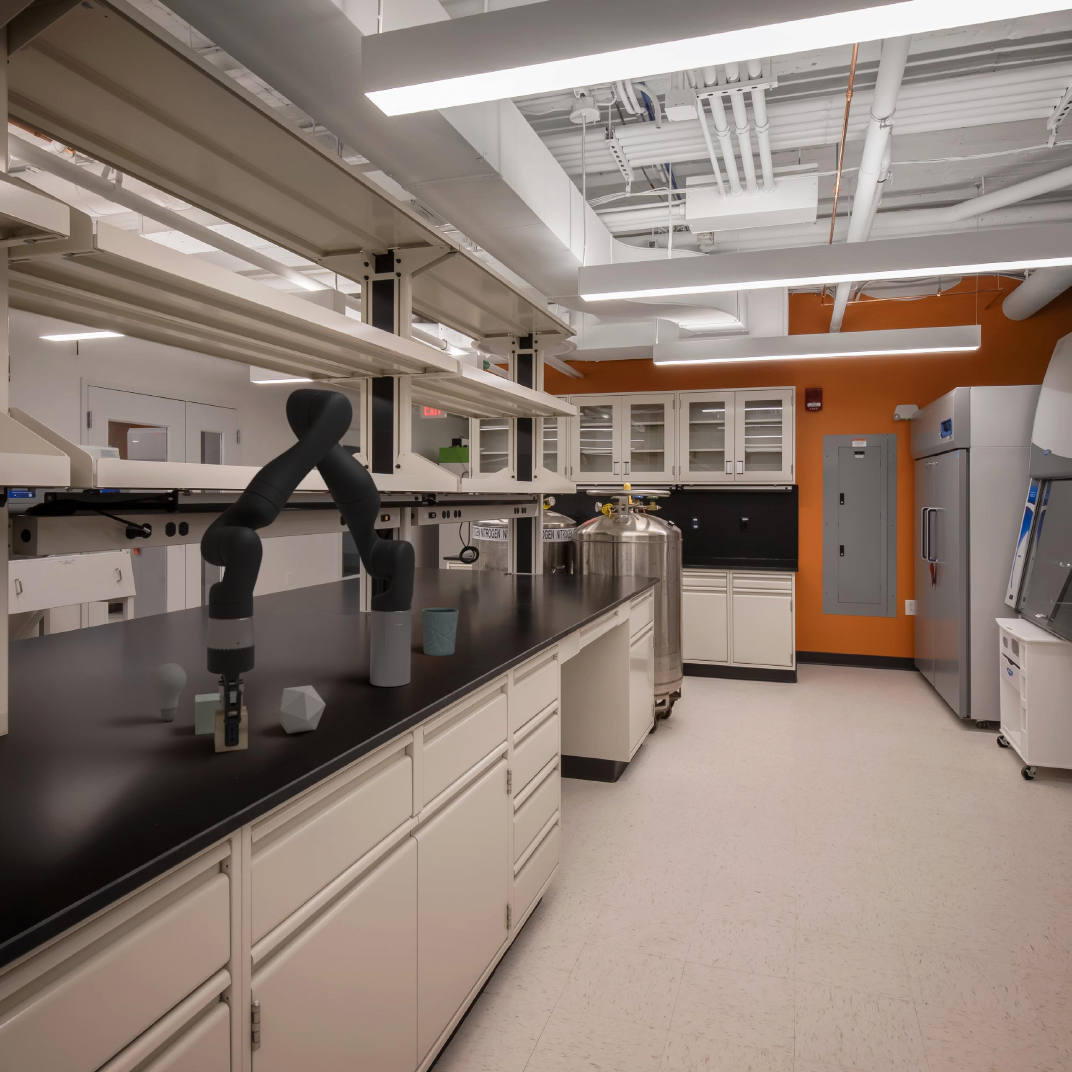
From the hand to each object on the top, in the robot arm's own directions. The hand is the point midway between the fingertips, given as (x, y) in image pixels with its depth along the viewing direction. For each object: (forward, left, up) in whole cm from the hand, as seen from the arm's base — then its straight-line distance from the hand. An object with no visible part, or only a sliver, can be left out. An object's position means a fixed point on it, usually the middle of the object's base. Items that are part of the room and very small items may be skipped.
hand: (230, 740), depth 127 cm
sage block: (-11, -3, -1) cm, 11 cm away
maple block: (0, 0, -1) cm, 1 cm away
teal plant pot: (-61, +57, -1) cm, 83 cm away
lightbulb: (-19, -10, -1) cm, 21 cm away
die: (-5, +12, -1) cm, 13 cm away
